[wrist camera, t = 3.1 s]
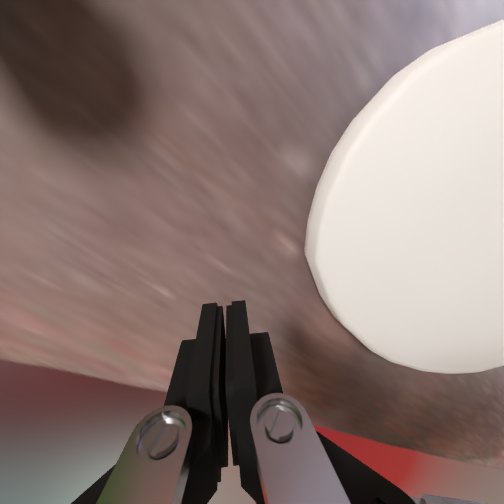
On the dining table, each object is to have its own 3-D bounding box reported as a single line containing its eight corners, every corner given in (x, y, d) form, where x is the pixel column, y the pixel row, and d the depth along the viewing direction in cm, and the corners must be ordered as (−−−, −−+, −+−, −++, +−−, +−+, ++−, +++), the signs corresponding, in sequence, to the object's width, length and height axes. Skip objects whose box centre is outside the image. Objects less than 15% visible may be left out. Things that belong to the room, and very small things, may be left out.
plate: (244, 287, 17) (571, -172, 10) (246, 258, 23) (452, -41, 17) (505, 445, 21) (851, 189, 15) (448, 385, 27) (674, 187, 21)
